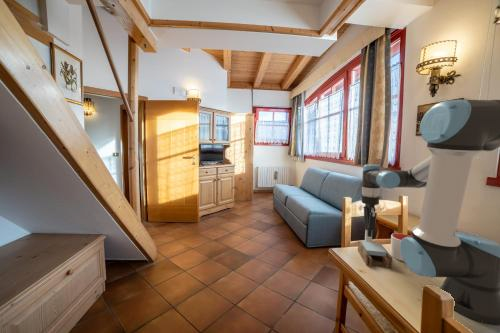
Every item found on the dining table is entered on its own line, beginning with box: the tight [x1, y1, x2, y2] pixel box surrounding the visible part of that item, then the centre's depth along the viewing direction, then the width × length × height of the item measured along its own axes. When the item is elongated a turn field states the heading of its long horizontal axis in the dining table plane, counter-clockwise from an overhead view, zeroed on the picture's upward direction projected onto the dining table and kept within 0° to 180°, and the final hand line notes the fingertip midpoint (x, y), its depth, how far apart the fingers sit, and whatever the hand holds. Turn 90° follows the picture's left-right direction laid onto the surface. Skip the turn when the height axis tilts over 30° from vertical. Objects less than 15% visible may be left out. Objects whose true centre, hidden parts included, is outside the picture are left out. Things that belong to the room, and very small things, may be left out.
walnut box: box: [357, 241, 394, 269], centre depth 97 cm, size 14×10×5 cm
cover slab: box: [360, 240, 388, 257], centre depth 99 cm, size 10×8×2 cm
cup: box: [389, 232, 411, 262], centre depth 99 cm, size 10×10×10 cm
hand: (368, 241), depth 106 cm, fingers closed
